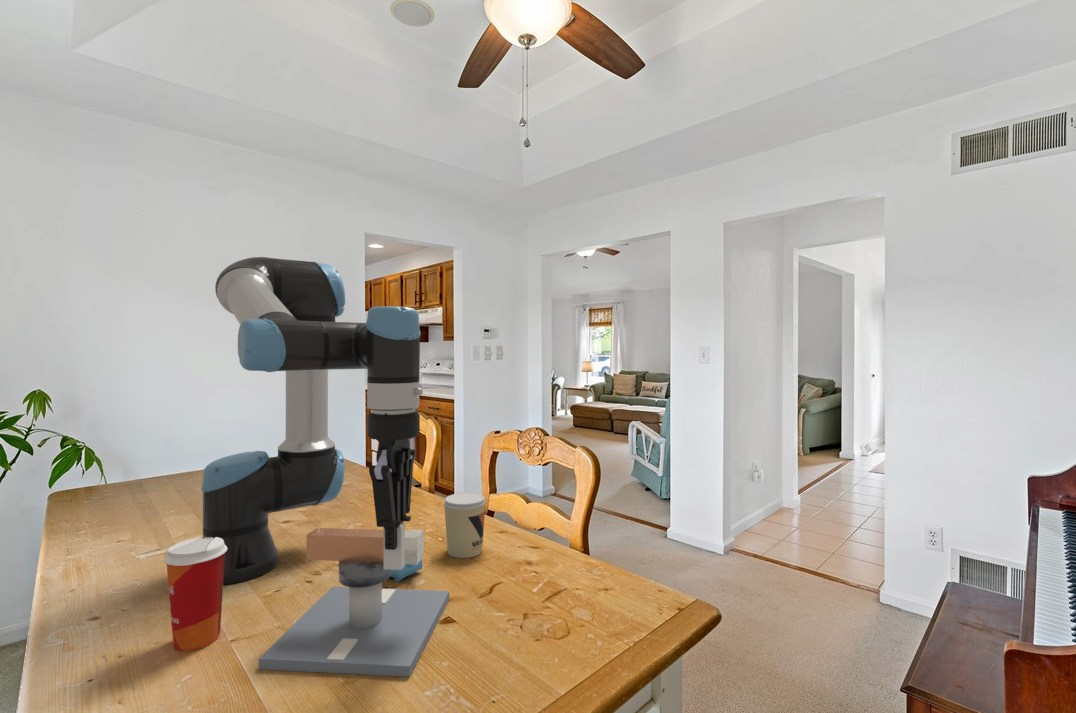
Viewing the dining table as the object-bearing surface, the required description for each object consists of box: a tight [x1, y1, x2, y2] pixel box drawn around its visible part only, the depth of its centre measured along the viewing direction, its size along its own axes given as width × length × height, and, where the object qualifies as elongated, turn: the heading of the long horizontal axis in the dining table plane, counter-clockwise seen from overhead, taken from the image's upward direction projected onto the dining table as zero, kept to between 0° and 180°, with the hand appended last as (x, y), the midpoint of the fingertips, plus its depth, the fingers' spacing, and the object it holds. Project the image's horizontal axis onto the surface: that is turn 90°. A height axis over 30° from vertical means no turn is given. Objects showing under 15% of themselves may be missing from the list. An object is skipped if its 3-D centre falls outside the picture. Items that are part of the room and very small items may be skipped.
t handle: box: [306, 527, 425, 588], centre depth 82 cm, size 18×8×7 cm, turn 86°
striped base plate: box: [258, 582, 450, 678], centre depth 82 cm, size 22×22×8 cm
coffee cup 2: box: [443, 492, 487, 559], centre depth 115 cm, size 9×9×12 cm
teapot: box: [389, 558, 423, 582], centre depth 102 cm, size 12×6×8 cm, turn 58°
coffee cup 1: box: [163, 537, 227, 652], centre depth 79 cm, size 8×8×15 cm
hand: (394, 567), depth 76 cm, fingers closed
